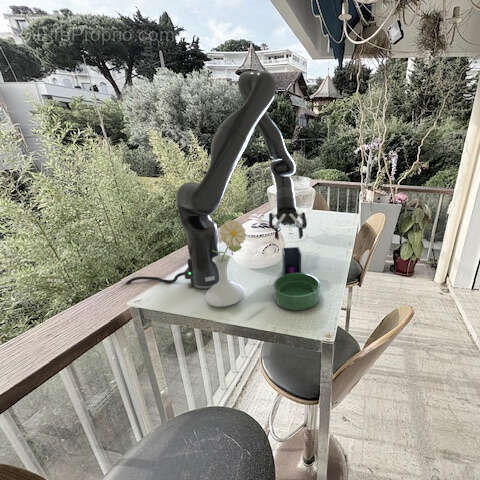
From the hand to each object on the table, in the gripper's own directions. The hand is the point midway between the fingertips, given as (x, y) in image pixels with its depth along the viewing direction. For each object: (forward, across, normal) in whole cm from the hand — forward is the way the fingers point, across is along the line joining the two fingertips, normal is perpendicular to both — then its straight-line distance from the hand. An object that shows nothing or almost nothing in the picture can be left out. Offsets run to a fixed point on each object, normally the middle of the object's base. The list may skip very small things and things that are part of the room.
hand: (289, 238), depth 99 cm
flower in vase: (+22, -21, -5) cm, 30 cm away
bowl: (+24, 0, -7) cm, 25 cm away
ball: (+12, 0, +1) cm, 12 cm away
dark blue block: (+14, 0, +3) cm, 14 cm away
